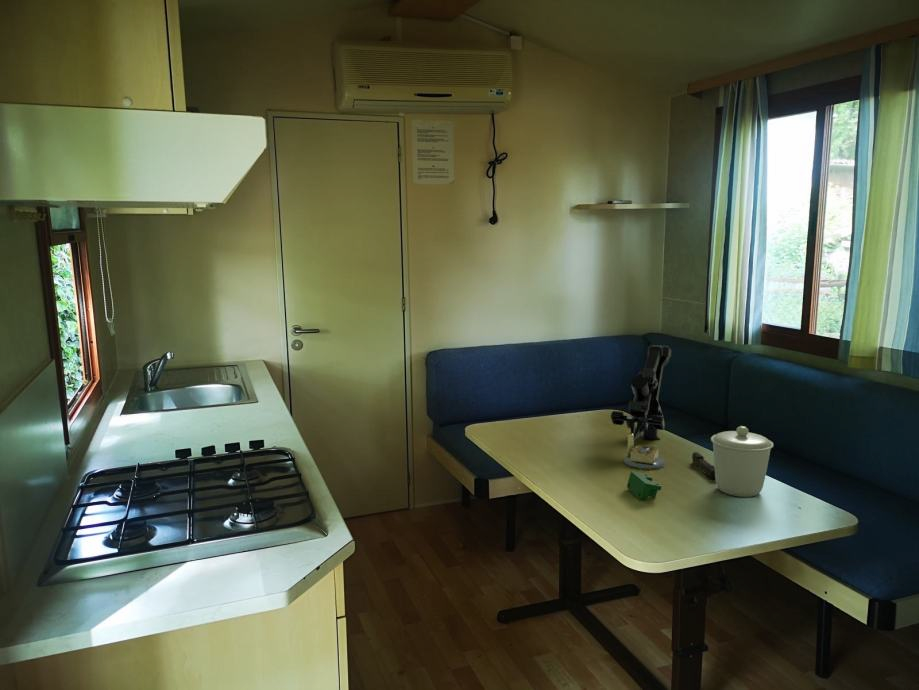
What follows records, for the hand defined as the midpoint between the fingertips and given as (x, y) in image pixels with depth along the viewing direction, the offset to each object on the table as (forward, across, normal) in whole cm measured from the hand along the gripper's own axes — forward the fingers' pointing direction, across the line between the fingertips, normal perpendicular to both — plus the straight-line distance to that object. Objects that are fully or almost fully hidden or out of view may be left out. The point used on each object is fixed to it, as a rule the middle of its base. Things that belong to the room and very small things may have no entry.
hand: (633, 440), depth 252 cm
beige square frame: (+6, +4, +1) cm, 8 cm away
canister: (+18, +38, -8) cm, 42 cm away
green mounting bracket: (+29, +12, -19) cm, 37 cm away
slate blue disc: (+7, +5, +2) cm, 9 cm away
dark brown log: (+7, +25, +3) cm, 26 cm away
